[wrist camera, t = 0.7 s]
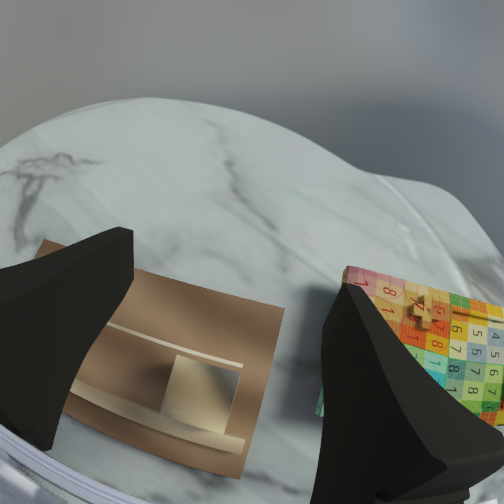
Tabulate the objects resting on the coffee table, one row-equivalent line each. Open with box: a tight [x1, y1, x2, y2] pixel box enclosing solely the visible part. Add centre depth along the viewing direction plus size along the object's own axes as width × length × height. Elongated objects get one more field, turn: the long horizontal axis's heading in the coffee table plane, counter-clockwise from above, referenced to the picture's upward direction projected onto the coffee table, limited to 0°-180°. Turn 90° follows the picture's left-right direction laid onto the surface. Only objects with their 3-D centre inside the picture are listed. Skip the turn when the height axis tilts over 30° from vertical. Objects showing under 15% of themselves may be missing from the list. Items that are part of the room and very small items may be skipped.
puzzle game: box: [315, 266, 504, 426], centre depth 22 cm, size 12×5×20 cm
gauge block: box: [159, 355, 241, 434], centre depth 19 cm, size 4×4×4 cm
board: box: [35, 239, 285, 479], centre depth 22 cm, size 14×24×3 cm, turn 76°
